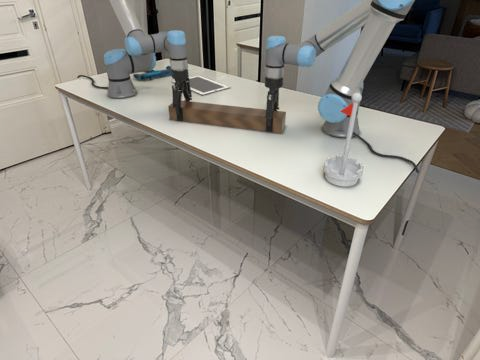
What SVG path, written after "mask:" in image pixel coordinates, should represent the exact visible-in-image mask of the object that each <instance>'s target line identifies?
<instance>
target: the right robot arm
mask: <svg viewBox="0 0 480 360" xmlns="http://www.w3.org/2000/svg"><path fill="white" fill-rule="evenodd" d="M415 1H416V0H362V1H361V2H359V3H358V4H357V5H355V6H354V7H352V8H351V9H349V10H347V12H345V13H344V14H342V15H341V16H340V17H338V18H337V19H335V20H334V21H333V22H331V23H329V24H328V25H326V26H325V27H323V28H322V29H321V30H320V31H318V32H317V33H315V34H313V36H311V37H309V38H308V39H307V40H304V41H302V42H300V43H289V42H287V39H286V37H285V36H283V35H282V36H281V35H271V36H268V37H267V39H266V43H265V44H266V46H265V67H264V68H263V71H265V72H264V76H265V77H264V86H265V87H266V88H267V89H268V91H267V94H266V106H265V110H266V116H265V118H267V120H266V133H272V129H273V110H275V111H280V107H279V106H280V105H279V104H280V103H279V101H280V100H279V99H280V89H281V88H283V85H284V76H285V74H284V73H285V65H291V66H298V67H302V68H305V67H307V68H310V67H312V66H313V65H314V63H315V61H316V58H317V57H318V56H320V55H321V54H323V53H324V52H326V51H327V50H328V49H331V48H332V47H334V46H335V45H336V44H338V43H339V42H341V41H342V40H344V39H345V38H347V37H349V36H351V35H352V34H354V33H355V32H357V31H358V30H359V29H361V28H362V30H361V32H360V34H359V36H358V38H357V39H356V41H355V44H354V45H353V47H352V49H351V51H350V53H349V55H348V57H347V59H346V61H345V63H344V65H343V67H342V68H341V71H340V72H339V75H338V77H336V78H334V79H332V80H331V81H330V84H329V86H328V88H327V89H326V91H325V93H324V95H323V96H321V97H320V99H319V101H318V103H317V111H318V113H319V115H320V117H321V118H322V119H323V120H324V123H323V126H322V130H323V132H324V133H325V134H326V135H329V136H332V137H335V138H339V139H341V138H342V139H346V137H347V132H348V127H349V121H350V116H349V115H346V114H344V113H342V112H340V111H342V110H343V109H345V108H346V107H348V106H349V105H351V104H352V103H353V101H352V95H353V94H354V93H360V94H361V96H362V95H363V90H364V81H365V79H366V77H367V75H368V73H369V71H370V70H371V68H372V66H373V64H374V63H375V61H376V59H377V57H378V55H379V54H380V52H381V50H382V49H383V47H384V45H385V44H386V41H387V40H388V38H389V36H390V34H391V33H392V31H393V29H395V28H394V27H395V26H396V24H397V23H399V22H401V21H404V20H405V18H406V16H407V14H408V13H409V12H410V10H411V8H412V6H413V5H414V3H415ZM360 105H361V101H360V102H358V107H357V112H356V117H355V122H354V127H353V132H352V137H351V138H354V137H357V138H358V139H359V140H360V141H362V142H363V143H364V144H365V145H367V147H368V149H369V150H370V151H371V152H372V154H374V155H376V156H379V157H382V158H391V159H399V160H402V161H405V162H406V163H410V164H411V165H412V166H413V168H414V170H415V172H416V173H417V174H419V173H420V171H419V168H418V166H417V164H416V163H415V162H414V161H413V160H411V159H409V158H406V157H403V156H400V155H393V154H383V153H380V152H377V151H376V150H374V149H373V147H372V145H371V144H370V143H369V142H368V141H367V140H366V139H364V138H363V137H361V136H360V135H359V132H360V125H359V118H358V117H359V116H358V114H359V111H360V110H359V109H360ZM409 222H410V219H409V220H405V222H404V226H403V229H402V232H401V236H405V233H406V230H407V227H408V225H409Z"/></svg>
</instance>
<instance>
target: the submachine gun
mask: <svg viewBox="0 0 480 360" xmlns="http://www.w3.org/2000/svg"><path fill="white" fill-rule="evenodd" d="M171 70H172V69H171V65H167V66H165V69H160V70H159V69H157V70H155V69H153V70H150V71H147V72H143V73H132V77H133V78H134V79H136V80H138V81H145V80H150V81H152V79H153V78H159V77H164V76H167V75H171Z"/></svg>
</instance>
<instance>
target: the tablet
mask: <svg viewBox="0 0 480 360" xmlns="http://www.w3.org/2000/svg"><path fill="white" fill-rule="evenodd" d="M188 78H189V83H190V88H191V92H193V93H195V94H198V95H201V96H205V95H208V94H212V93H216V92H219V91H223V90H227V89H230V88H231V86H229V85H226V84H223V83H220V82H218V81H216V80H212V79H210V78H207V77H204V76H202V75H194V76H190V77H188ZM171 83H174V84H175V80H173V81H171Z"/></svg>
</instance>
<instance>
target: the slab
mask: <svg viewBox="0 0 480 360" xmlns="http://www.w3.org/2000/svg"><path fill="white" fill-rule="evenodd" d="M181 107H182V115H183V121H182V122H185V123H191V124H200V125H207V126H208V125H209V126H216V127H225V128H233V129H241V130H249V131H257V132H264V133H265V132H266V120H267V118H265V116H266V108H265V109H264V108H255V107H247V106H246V107H245V106H237V105H227V104H217V103H210V102H209V103H208V102H200V101H192V100H190V101H184V100H183V99H181ZM168 115H169V120H170V121H174V122H175V121H177V115H176V108H173V102H171V103H170V104H169V105H168ZM286 118H287V111H283V110H277V111H275V110H273V129H272V132H271V133H272V134H282V133H283V131H284V129H285V127H286ZM177 122H178V121H177ZM266 133H267V132H266Z"/></svg>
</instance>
